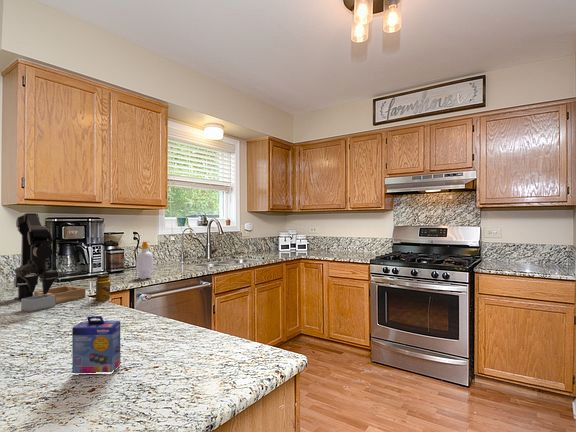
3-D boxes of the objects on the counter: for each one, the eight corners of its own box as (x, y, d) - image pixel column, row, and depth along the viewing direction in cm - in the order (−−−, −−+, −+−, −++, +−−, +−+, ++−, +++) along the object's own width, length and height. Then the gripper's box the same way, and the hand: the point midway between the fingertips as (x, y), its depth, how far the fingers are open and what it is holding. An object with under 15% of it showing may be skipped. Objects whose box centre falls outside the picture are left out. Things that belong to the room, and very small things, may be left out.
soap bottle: (156, 278, 224) (156, 241, 224) (142, 280, 215) (142, 242, 215) (146, 276, 229) (146, 241, 229) (132, 278, 220) (133, 241, 221)
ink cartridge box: (70, 377, 83) (70, 318, 83) (82, 367, 89) (82, 311, 89) (112, 375, 84) (112, 317, 84) (121, 365, 90) (121, 311, 90)
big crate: (34, 301, 160) (34, 291, 160) (65, 294, 174) (65, 285, 174) (54, 304, 154) (54, 294, 154) (85, 297, 168) (85, 288, 168)
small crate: (30, 312, 141) (30, 300, 141) (21, 310, 144) (21, 298, 144) (55, 306, 150) (55, 295, 150) (46, 305, 153) (46, 294, 153)
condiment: (111, 300, 161) (111, 275, 162) (91, 303, 157) (91, 277, 157) (110, 297, 168) (110, 273, 168) (90, 300, 163) (90, 275, 163)
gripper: (4, 258, 144) (4, 295, 143) (31, 260, 136) (31, 299, 136) (33, 255, 154) (33, 290, 154) (59, 257, 146) (59, 293, 146)
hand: (38, 293), depth 147 cm, fingers open, 9 cm apart
